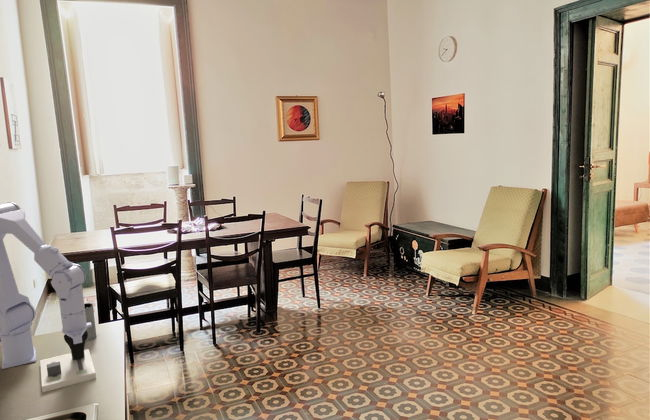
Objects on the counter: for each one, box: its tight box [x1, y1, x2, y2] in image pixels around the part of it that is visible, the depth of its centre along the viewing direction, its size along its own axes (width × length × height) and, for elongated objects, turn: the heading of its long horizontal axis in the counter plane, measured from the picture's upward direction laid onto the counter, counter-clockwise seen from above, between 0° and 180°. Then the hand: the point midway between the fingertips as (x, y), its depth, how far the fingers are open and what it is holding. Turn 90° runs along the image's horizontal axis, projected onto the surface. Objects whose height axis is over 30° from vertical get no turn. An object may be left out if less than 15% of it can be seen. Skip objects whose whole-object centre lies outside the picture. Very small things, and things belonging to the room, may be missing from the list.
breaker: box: [47, 362, 61, 377], centre depth 124 cm, size 2×3×2 cm, turn 121°
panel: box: [39, 348, 97, 393], centre depth 128 cm, size 16×12×2 cm
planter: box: [84, 302, 97, 342], centre depth 148 cm, size 4×4×10 cm
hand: (78, 358), depth 131 cm, fingers closed
